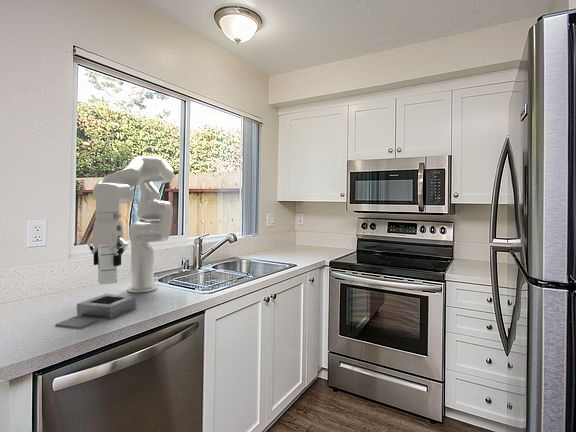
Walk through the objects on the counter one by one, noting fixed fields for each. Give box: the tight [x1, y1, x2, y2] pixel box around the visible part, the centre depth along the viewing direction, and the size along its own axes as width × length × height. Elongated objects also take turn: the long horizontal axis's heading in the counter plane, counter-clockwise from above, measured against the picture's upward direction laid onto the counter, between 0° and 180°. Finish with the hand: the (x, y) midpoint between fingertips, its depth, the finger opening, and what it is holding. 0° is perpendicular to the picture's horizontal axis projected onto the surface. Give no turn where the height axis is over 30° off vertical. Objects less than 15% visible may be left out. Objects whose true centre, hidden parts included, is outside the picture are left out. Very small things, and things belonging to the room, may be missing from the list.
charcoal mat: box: [54, 315, 101, 330], centre depth 112 cm, size 8×10×1 cm
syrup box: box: [97, 244, 118, 285], centre depth 122 cm, size 6×6×14 cm
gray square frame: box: [76, 293, 137, 321], centre depth 123 cm, size 14×14×4 cm
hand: (107, 264), depth 122 cm, fingers closed on syrup box, 7 cm apart
